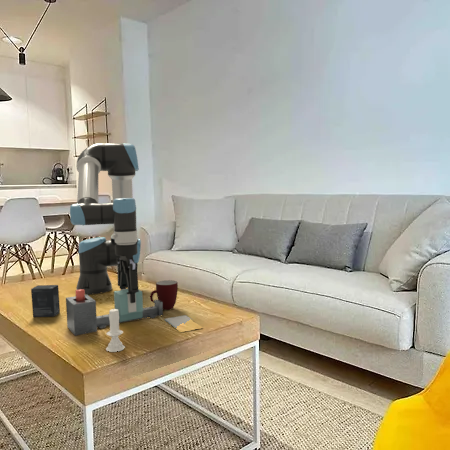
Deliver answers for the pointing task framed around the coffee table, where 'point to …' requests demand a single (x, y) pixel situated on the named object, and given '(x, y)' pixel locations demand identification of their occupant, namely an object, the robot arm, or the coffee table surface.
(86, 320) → the gray button box
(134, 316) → the block
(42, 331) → the coffee table surface
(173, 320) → the smartphone
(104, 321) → the rail
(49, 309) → the box
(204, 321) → the coffee table surface
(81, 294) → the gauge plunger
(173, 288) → the mug
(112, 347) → the candle
